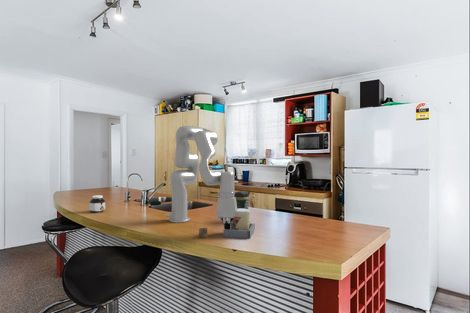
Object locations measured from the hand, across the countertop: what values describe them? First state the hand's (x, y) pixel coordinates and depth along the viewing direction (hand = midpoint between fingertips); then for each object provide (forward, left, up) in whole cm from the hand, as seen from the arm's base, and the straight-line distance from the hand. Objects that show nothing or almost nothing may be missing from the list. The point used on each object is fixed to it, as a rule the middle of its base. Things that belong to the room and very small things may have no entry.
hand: (227, 230), depth 144 cm
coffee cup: (+7, +1, -1) cm, 8 cm away
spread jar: (-107, +36, -2) cm, 113 cm away
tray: (+6, 0, -1) cm, 6 cm away
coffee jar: (+2, +29, -1) cm, 29 cm away
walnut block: (-10, -10, -1) cm, 14 cm away
